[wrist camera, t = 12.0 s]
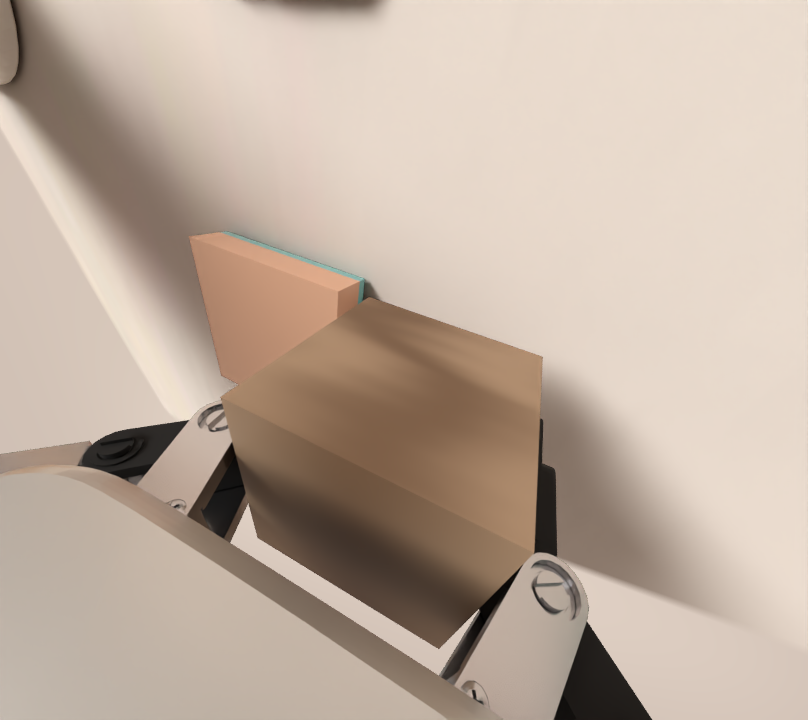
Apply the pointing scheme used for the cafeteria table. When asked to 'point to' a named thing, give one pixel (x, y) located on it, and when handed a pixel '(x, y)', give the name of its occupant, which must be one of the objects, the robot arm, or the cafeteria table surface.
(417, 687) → the robot arm
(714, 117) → the cafeteria table surface
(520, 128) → the cafeteria table surface
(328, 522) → the walnut block
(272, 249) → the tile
